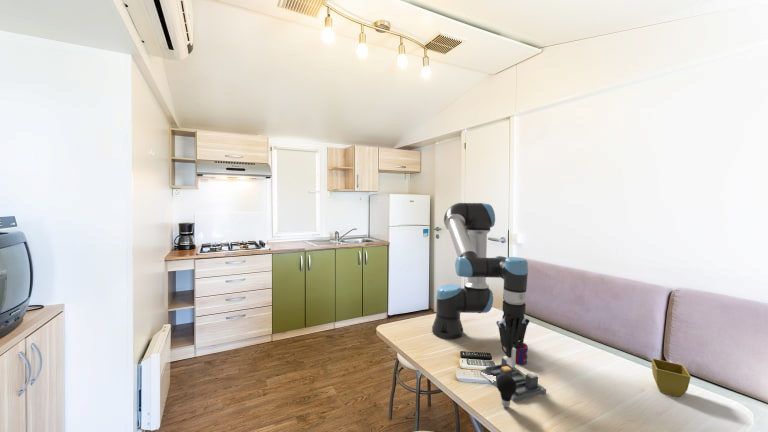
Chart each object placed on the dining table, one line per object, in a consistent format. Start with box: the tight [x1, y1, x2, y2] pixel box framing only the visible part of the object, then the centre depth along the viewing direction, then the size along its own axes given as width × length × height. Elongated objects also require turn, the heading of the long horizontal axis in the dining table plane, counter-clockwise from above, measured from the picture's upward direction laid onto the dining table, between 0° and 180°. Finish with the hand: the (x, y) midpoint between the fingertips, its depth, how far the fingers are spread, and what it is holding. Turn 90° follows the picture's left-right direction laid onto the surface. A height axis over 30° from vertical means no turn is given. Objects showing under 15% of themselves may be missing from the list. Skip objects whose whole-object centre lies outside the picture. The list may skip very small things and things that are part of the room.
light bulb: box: [496, 375, 516, 408], centre depth 97 cm, size 6×6×10 cm
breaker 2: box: [525, 371, 539, 389], centre depth 106 cm, size 2×3×4 cm
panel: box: [480, 363, 547, 402], centre depth 111 cm, size 17×14×2 cm
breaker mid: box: [500, 366, 512, 377], centre depth 110 cm, size 2×3×4 cm
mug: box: [501, 342, 529, 366], centre depth 128 cm, size 7×10×7 cm
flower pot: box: [651, 358, 691, 398], centre depth 107 cm, size 9×9×9 cm
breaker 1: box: [500, 355, 512, 369], centre depth 117 cm, size 2×3×4 cm
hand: (510, 365), depth 111 cm, fingers closed
